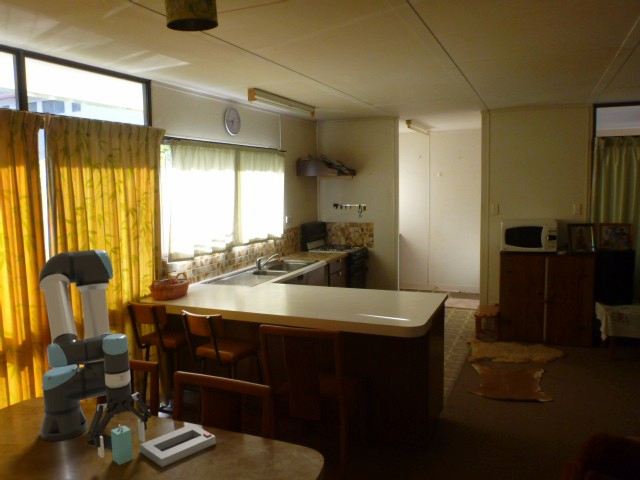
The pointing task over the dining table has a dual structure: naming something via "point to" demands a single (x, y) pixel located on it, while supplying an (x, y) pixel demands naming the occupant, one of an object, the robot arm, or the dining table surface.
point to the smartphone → (106, 441)
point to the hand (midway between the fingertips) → (122, 448)
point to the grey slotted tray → (177, 445)
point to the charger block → (121, 444)
